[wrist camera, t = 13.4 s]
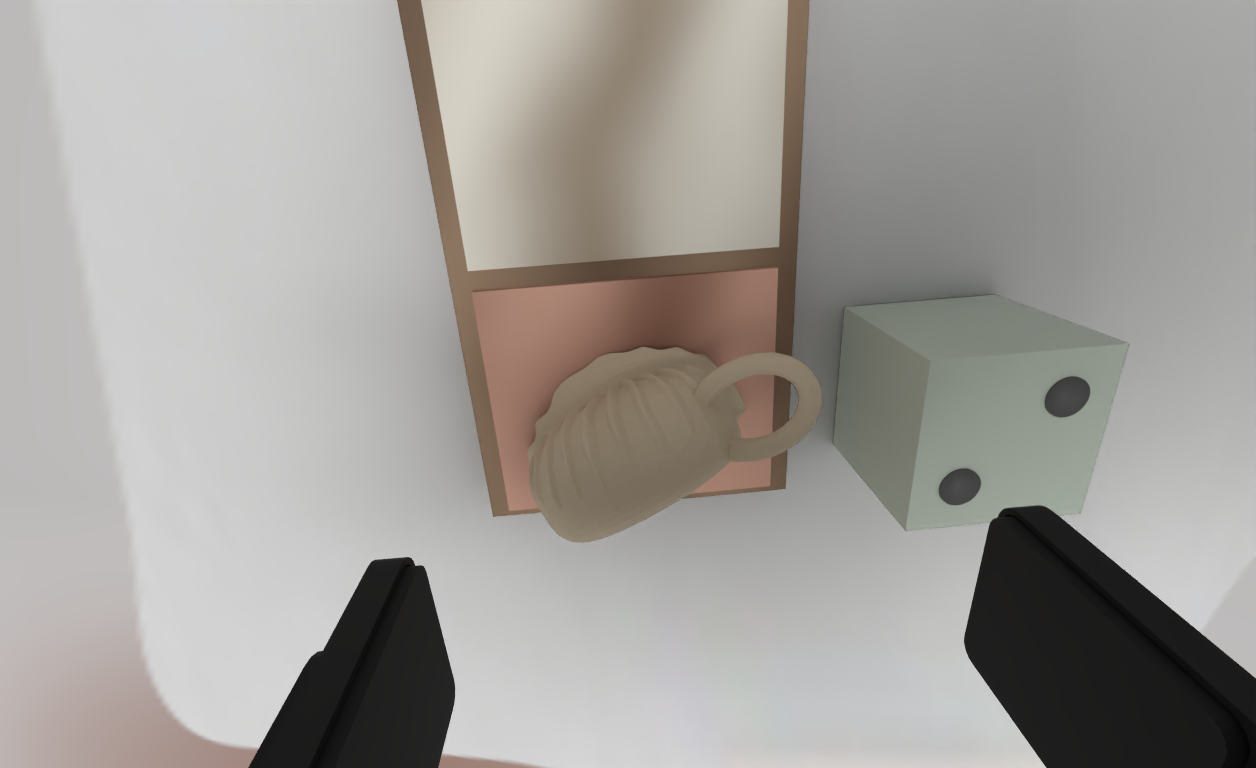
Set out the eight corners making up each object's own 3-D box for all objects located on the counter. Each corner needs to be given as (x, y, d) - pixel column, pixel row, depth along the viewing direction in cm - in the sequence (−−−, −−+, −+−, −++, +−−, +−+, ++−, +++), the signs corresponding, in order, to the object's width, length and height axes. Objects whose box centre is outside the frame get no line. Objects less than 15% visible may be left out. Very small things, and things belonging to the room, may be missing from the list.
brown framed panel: (798, -72, 15) (816, -90, 13) (776, 473, 21) (787, 491, 20) (398, -50, 14) (382, -66, 13) (497, 499, 20) (492, 520, 19)
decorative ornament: (494, 414, 18) (460, 518, 13) (738, 281, 17) (802, 339, 12) (563, 508, 19) (556, 634, 14) (790, 392, 18) (867, 484, 13)
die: (995, 294, 19) (1132, 344, 14) (970, 431, 21) (1082, 515, 16) (844, 307, 19) (932, 362, 14) (832, 444, 20) (906, 532, 16)
